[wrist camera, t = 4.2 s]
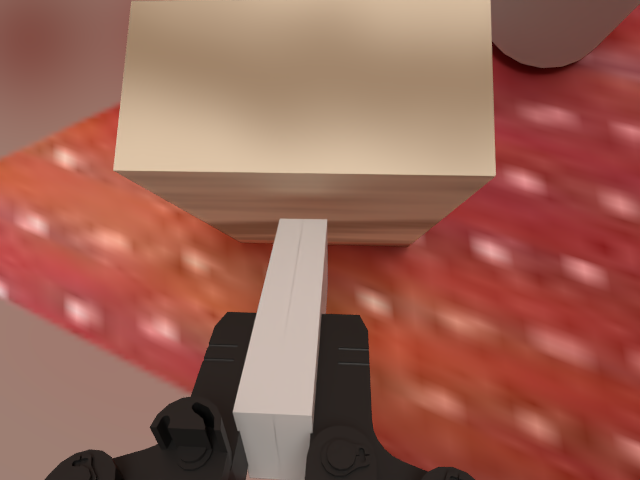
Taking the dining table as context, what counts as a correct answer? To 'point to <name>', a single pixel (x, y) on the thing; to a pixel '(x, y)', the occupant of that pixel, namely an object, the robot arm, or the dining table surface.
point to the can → (554, 28)
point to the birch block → (310, 112)
